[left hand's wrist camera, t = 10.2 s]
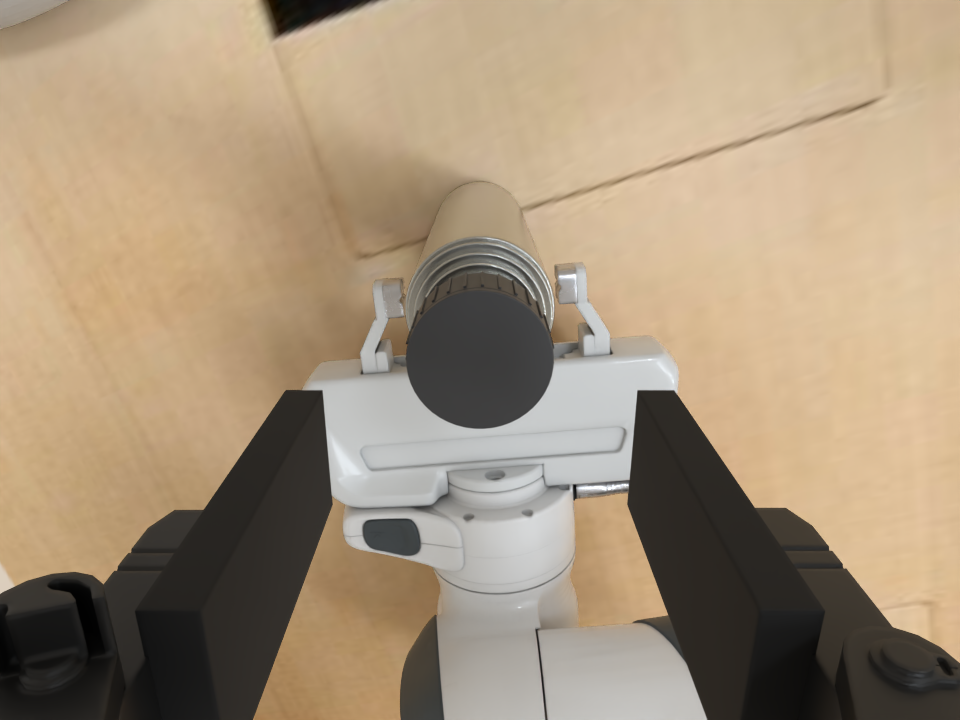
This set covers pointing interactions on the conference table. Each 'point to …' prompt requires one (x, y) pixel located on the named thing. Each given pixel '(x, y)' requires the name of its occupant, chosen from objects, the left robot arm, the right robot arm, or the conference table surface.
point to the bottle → (479, 246)
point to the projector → (24, 10)
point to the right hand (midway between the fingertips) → (478, 272)
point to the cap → (480, 351)
